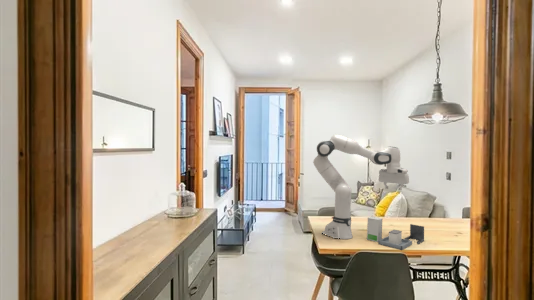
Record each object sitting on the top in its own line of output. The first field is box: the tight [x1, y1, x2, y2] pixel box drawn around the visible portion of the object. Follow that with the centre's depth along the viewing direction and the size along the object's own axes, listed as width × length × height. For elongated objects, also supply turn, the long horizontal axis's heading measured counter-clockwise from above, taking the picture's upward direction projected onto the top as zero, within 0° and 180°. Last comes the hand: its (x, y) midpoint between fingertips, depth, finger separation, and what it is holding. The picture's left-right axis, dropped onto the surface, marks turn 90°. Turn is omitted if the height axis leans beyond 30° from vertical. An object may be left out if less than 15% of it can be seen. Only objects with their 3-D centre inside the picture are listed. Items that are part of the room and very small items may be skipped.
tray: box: [377, 235, 413, 251], centre depth 200 cm, size 16×16×2 cm
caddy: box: [388, 229, 403, 245], centre depth 200 cm, size 5×8×8 cm, turn 134°
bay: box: [404, 223, 425, 245], centre depth 207 cm, size 9×10×10 cm
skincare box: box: [366, 215, 383, 243], centre depth 210 cm, size 8×7×16 cm
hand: (393, 189), depth 211 cm, fingers open, 8 cm apart
